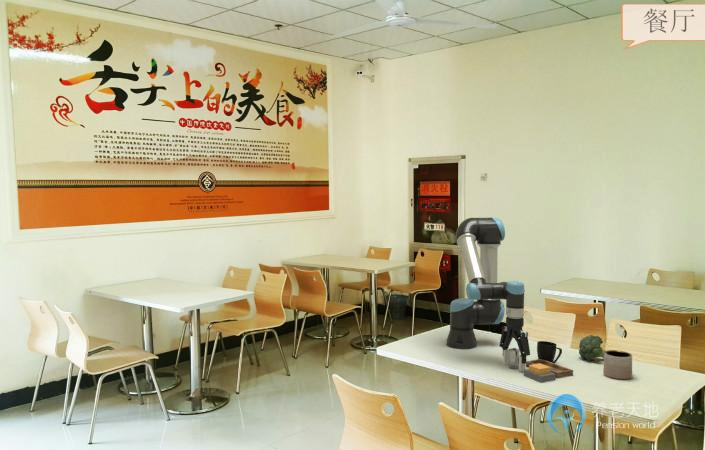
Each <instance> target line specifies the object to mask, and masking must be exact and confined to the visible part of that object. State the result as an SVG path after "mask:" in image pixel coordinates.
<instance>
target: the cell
mask: <svg viewBox="0 0 705 450" xmlns="http://www.w3.org/2000/svg"><path fill="white" fill-rule="evenodd" d="M519 358H520V350H519V348H516V347H511V348H509V364H508V368H509V369H511V370H519Z"/></svg>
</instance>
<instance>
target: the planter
mask: <svg viewBox="0 0 705 450" xmlns="http://www.w3.org/2000/svg"><path fill="white" fill-rule="evenodd" d="M602 369H603V375H604V376H605V377H607V378H610V379H613V380H619V379H620V380H621V381H622V380H623V381H625V380H626V379H627V380H630V379H631V378H632V377H633V355H632V353H629V352H627V351H622V350H614V349H610V350H606V351H605V352H604V359H603V368H602ZM620 380H619V381H620ZM627 380H626V381H627Z"/></svg>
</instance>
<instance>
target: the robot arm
mask: <svg viewBox="0 0 705 450" xmlns="http://www.w3.org/2000/svg"><path fill="white" fill-rule="evenodd" d="M505 238H506V228H505V226H504V223H503V220H501V219H500V218H498V217H492V216H491V217H469V218H466V219H465V220H462V222H461V223H459V225H458V227H457V229H456V233H455V240H456V244H457V246H459V249H460V252H461V255H462V256H461V257H462V260H463V263H464V268H465V272H466V275H467V278H468V283H467V284H466V287H465V291H466V293H465V294H466V296H467V298H466V297H460V298H455V299H454V300H452V301H451V302H450V305H449V306H450V307H449V331H448V334H447V338H446V340H445V342H446V345H447V346H448V347H450V348H453V349H454V348H455V349H461V350H464V349H465V350H467V349H473V348H477V346H478V343H477V338H476V335H475V332H474V331H475V330H474V326H475V325H491V326H492V325H499V324H500V323H502V321H503V320H504V317H505V315H506V317H505V325H503V326H501V336H500V341H499V348H501V349H502V357H503V359H502V360H503V362H502V363H503V365H504V366H505V365H509V349H510V345H511V342H512V341H513V339H514V340H515V342H516V344H517V347H518V349H519V350H520V352H519V369H518V370H519V372H524V370H525V369H526V361H527V357H528V356H531V350H530V343H529V337H528V336H529V332H528V331H524V330H523V327H524V324H525V322H524V319H525V318H524V317H525V291H526V290H525V284H524V282H522V281H519V280H517V281H516V280H509V281H500V282H498V248H499V247H500V246H501V243H502V242H503V241H504V240H505ZM477 246H479V251H480V252H478V248H477ZM479 254H480V255H479ZM502 300H506V301H505V304H504V302H503V301H502ZM505 306H506V308H505ZM505 309H506V310H505Z"/></svg>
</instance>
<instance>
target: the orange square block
mask: <svg viewBox="0 0 705 450" xmlns="http://www.w3.org/2000/svg"><path fill="white" fill-rule="evenodd" d="M528 369H529V371H530V372H533V373H535V374H538V375H543V374H548V373H550V367H549V366H546V365H543V364H540V363H538V364H533V365H529V367H528Z"/></svg>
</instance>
